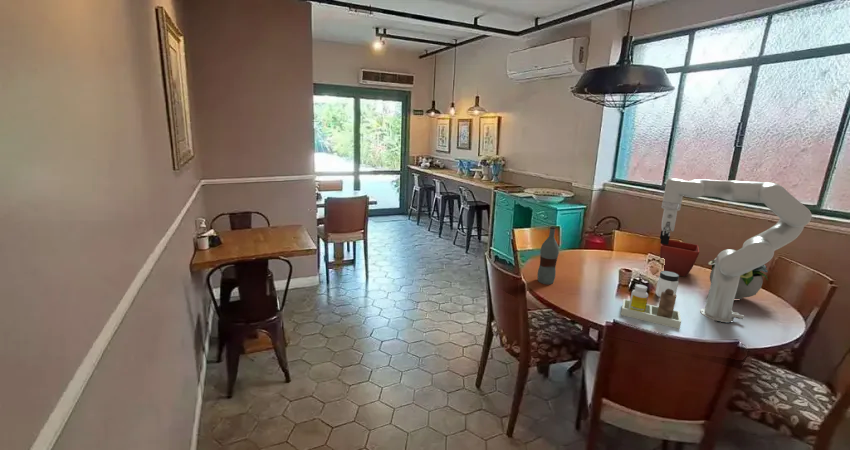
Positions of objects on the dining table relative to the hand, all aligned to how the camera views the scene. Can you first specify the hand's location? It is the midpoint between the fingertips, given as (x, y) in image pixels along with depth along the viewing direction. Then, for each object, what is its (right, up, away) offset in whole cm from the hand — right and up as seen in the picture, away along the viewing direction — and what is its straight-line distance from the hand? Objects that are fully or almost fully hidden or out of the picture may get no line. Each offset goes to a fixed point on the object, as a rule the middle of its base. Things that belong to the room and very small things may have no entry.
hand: (663, 241), depth 193 cm
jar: (+9, -28, +15) cm, 33 cm away
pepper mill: (-8, -33, -14) cm, 37 cm away
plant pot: (+37, -20, +53) cm, 68 cm away
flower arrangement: (+45, -30, +18) cm, 56 cm away
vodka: (-48, -22, +25) cm, 59 cm away
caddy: (-13, -33, -11) cm, 37 cm away
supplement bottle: (-18, -32, -9) cm, 37 cm away
